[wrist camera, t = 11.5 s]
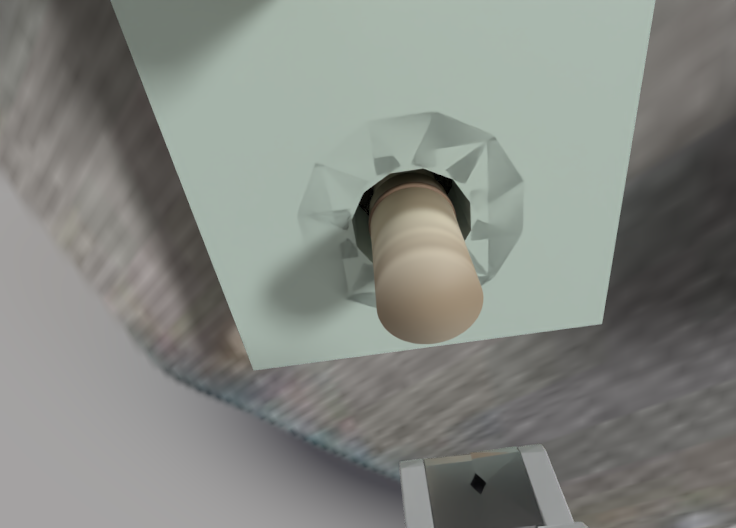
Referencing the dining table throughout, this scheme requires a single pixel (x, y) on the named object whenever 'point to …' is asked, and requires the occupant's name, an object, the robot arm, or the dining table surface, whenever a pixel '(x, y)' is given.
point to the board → (395, 150)
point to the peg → (420, 260)
